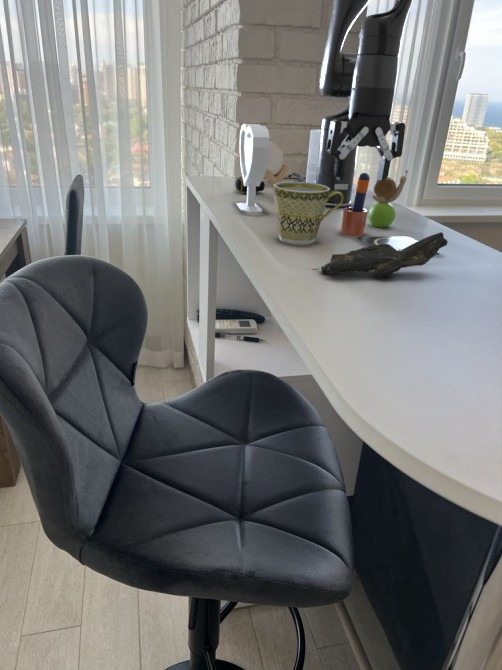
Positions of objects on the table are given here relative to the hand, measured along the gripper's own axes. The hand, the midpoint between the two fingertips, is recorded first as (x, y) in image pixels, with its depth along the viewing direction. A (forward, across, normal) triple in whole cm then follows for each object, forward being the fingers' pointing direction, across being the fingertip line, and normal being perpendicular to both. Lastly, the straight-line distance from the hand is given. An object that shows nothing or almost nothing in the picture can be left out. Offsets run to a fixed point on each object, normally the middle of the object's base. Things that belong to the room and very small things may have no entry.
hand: (360, 180), depth 96 cm
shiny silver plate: (+10, -5, +9) cm, 15 cm away
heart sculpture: (+11, +16, -23) cm, 30 cm away
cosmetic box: (+11, -13, -52) cm, 54 cm away
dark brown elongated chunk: (+10, +5, +23) cm, 26 cm away
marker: (+10, 0, 0) cm, 10 cm away
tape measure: (+11, +11, -43) cm, 45 cm away
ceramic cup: (+11, +12, +4) cm, 16 cm away
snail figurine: (+11, -9, -5) cm, 15 cm away
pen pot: (+10, 0, 0) cm, 11 cm away
